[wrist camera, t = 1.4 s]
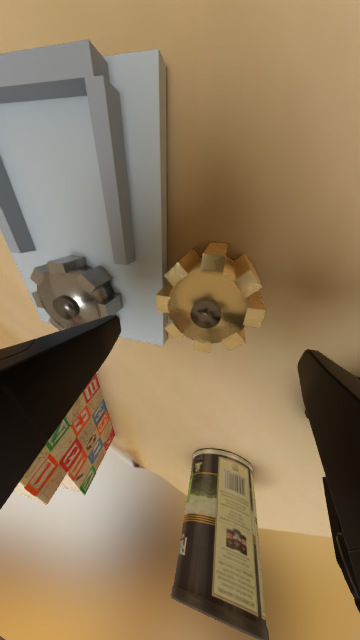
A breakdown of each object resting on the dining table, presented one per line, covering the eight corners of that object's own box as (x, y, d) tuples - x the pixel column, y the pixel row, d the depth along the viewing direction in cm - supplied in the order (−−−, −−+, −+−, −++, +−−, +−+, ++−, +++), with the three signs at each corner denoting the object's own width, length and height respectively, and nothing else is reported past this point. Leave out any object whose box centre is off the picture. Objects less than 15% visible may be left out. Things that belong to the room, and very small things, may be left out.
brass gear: (267, 246, 12) (286, 264, 8) (244, 325, 16) (249, 366, 11) (175, 239, 13) (149, 251, 9) (173, 314, 17) (154, 347, 13)
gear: (116, 260, 14) (91, 270, 12) (127, 332, 18) (110, 351, 15) (43, 252, 15) (7, 259, 13) (67, 320, 19) (43, 336, 17)
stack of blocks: (116, 434, 35) (70, 524, 25) (89, 426, 37) (35, 508, 26) (91, 358, 24) (-10, 464, 14) (54, 349, 25) (-66, 442, 15)
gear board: (166, 67, 9) (146, 21, 7) (167, 338, 19) (158, 355, 16) (-44, 91, 12) (-104, 64, 10) (50, 316, 21) (30, 328, 19)
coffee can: (195, 469, 34) (177, 601, 23) (190, 442, 29) (163, 594, 18) (251, 483, 31) (263, 642, 20) (256, 456, 26) (276, 648, 15)
